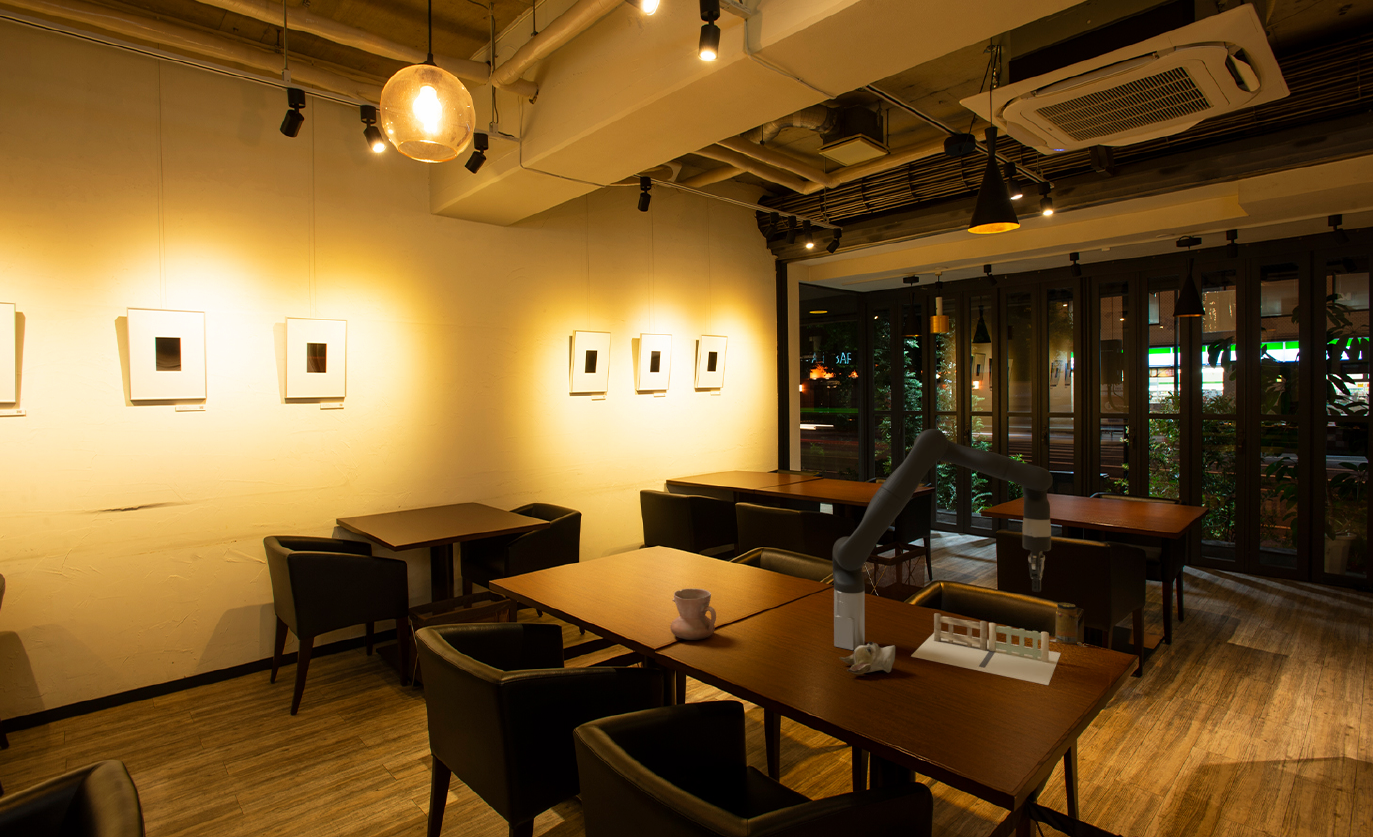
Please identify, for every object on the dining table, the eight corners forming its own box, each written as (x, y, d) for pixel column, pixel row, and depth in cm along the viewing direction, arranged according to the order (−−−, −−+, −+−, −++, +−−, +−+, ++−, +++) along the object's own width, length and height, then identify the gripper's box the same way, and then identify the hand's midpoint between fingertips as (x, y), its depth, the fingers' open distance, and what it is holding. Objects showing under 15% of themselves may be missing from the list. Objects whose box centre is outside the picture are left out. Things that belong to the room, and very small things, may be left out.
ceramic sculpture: (900, 646, 181) (846, 650, 181) (902, 678, 181) (848, 681, 181) (888, 633, 191) (837, 637, 191) (890, 663, 191) (839, 666, 191)
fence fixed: (987, 649, 201) (987, 621, 201) (986, 651, 200) (986, 623, 200) (935, 639, 210) (935, 612, 210) (933, 640, 209) (933, 614, 209)
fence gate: (988, 650, 199) (988, 624, 199) (989, 648, 201) (989, 622, 201) (1048, 662, 190) (1048, 634, 190) (1049, 659, 192) (1049, 632, 192)
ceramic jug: (658, 635, 216) (658, 592, 215) (689, 625, 226) (689, 584, 226) (698, 649, 203) (698, 603, 203) (729, 637, 214) (729, 594, 213)
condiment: (1063, 637, 213) (1063, 600, 212) (1089, 646, 205) (1089, 607, 205) (1048, 641, 209) (1048, 603, 209) (1074, 649, 202) (1074, 610, 202)
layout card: (1048, 686, 175) (1048, 684, 175) (910, 657, 196) (910, 655, 196) (1060, 654, 198) (1060, 652, 198) (936, 631, 219) (936, 629, 219)
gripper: (1026, 528, 205) (1026, 584, 206) (1018, 535, 194) (1018, 594, 195) (1053, 531, 201) (1053, 588, 201) (1047, 538, 190) (1047, 598, 190)
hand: (1036, 590), depth 198 cm, fingers closed
